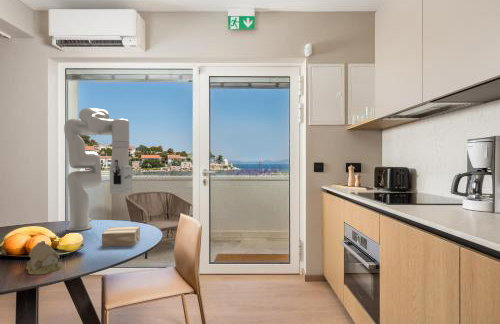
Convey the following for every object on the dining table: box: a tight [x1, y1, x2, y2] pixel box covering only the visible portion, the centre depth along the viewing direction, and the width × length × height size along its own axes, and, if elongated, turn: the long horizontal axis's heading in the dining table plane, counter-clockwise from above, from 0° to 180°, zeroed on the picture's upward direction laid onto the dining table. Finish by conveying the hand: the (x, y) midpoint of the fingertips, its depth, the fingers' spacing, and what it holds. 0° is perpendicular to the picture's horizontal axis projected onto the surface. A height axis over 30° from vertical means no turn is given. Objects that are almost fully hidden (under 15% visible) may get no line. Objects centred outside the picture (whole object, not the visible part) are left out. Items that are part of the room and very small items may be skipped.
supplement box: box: [109, 165, 133, 195], centre depth 164 cm, size 7×7×13 cm
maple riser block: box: [101, 226, 141, 247], centre depth 165 cm, size 14×14×6 cm
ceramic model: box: [25, 240, 63, 275], centre depth 127 cm, size 14×11×10 cm
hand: (121, 183), depth 164 cm, fingers closed on supplement box, 8 cm apart
